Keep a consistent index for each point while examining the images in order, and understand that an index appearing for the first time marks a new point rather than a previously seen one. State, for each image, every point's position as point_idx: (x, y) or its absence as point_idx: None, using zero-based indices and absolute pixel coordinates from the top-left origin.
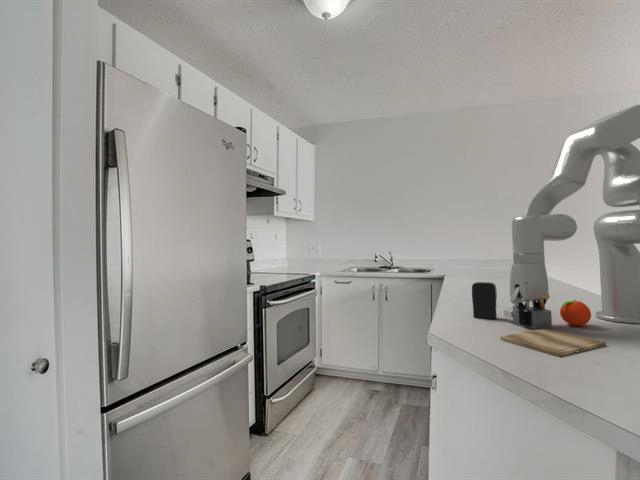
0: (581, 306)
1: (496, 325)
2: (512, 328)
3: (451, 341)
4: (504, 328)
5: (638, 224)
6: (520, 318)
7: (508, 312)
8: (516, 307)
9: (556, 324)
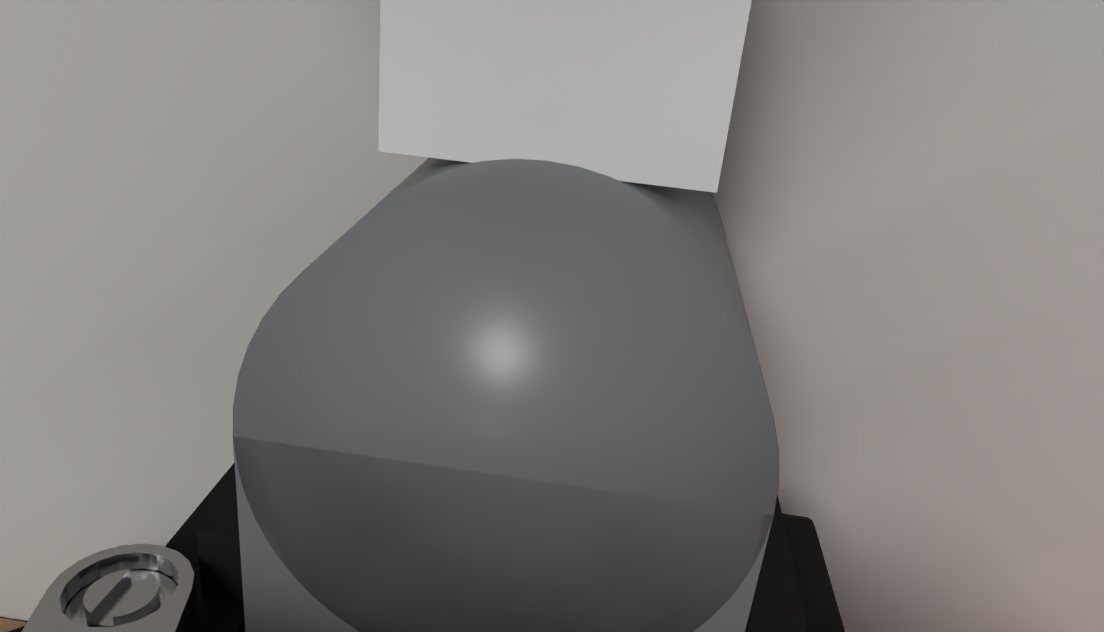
0: None
1: (29, 12)
2: (131, 333)
3: None
4: (5, 251)
5: None
6: (230, 482)
7: (395, 38)
8: (273, 439)
9: (1020, 625)
